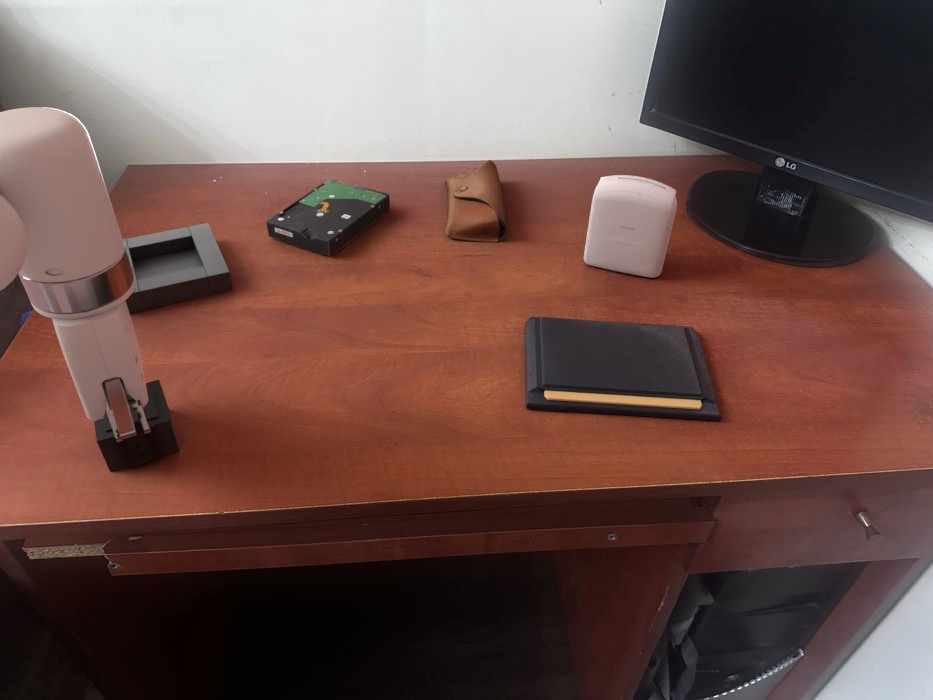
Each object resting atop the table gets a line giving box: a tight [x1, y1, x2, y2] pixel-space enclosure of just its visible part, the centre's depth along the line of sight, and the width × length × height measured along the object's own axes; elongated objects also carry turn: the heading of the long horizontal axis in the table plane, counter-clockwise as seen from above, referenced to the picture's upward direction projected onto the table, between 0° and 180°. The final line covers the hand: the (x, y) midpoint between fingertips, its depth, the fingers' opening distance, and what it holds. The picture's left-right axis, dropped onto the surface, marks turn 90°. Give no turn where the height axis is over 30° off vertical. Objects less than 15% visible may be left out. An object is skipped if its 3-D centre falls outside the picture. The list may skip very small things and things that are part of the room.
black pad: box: [93, 379, 180, 472], centre depth 65 cm, size 6×6×4 cm
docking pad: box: [122, 222, 234, 314], centre depth 86 cm, size 12×12×3 cm
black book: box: [523, 316, 723, 422], centre depth 76 cm, size 20×2×15 cm
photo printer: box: [583, 174, 678, 279], centre depth 88 cm, size 10×4×12 cm, turn 70°
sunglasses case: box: [444, 159, 508, 243], centre depth 102 cm, size 18×7×7 cm, turn 3°
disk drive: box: [265, 178, 391, 257], centre depth 97 cm, size 10×3×15 cm
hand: (139, 434), depth 66 cm, fingers closed on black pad, 6 cm apart
